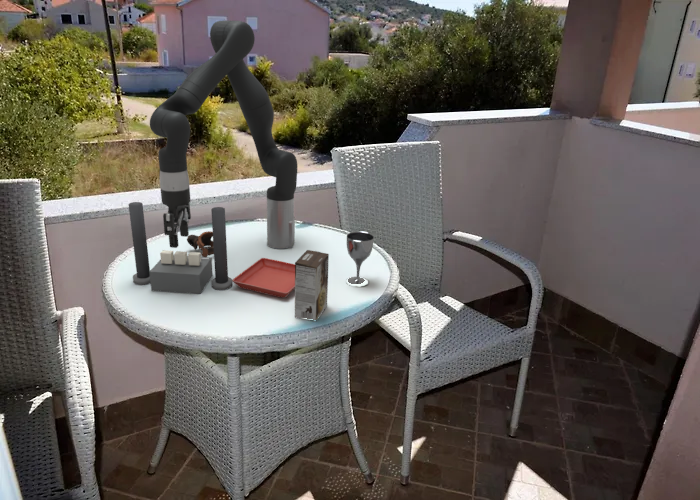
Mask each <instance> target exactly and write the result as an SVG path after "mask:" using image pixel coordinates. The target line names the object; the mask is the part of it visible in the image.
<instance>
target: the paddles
mask: <svg viewBox="0 0 700 500" xmlns="http://www.w3.org/2000/svg"><path fill="white" fill-rule="evenodd" d="M201 254H202V252H197V251H190V252H189V253H188V251H181V250H179V251H178V250H177V251H175V252H174V250H165V249H164V250H163V249H162V251H160V253H159V255H160V260H161V263H165V264H172V263H175V264H181V265H186V263H187V264H189V265H197V266H199V265H200V264H202V262H201V257H202V255H201ZM187 256H188V259H187ZM174 258H175V260H174ZM188 260H189V261H188Z"/></svg>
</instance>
